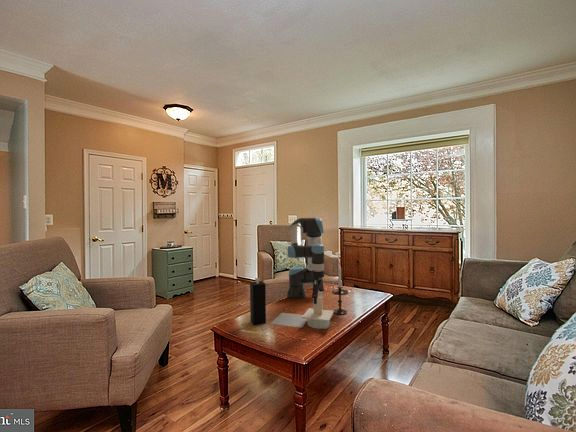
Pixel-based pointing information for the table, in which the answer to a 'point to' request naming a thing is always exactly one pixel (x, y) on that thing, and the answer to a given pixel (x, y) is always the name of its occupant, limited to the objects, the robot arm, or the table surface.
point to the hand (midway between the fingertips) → (318, 305)
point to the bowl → (318, 323)
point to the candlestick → (339, 292)
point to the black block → (257, 302)
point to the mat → (289, 320)
